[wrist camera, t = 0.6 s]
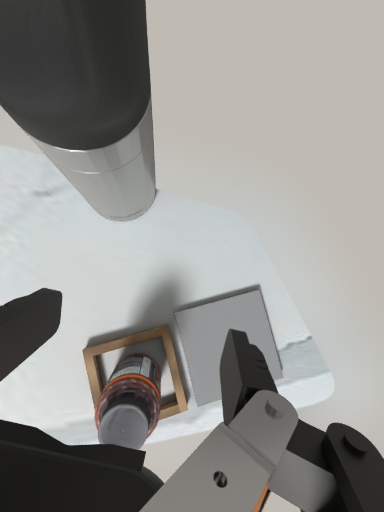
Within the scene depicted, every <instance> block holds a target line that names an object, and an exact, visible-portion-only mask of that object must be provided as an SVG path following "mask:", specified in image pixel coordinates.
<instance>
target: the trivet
mask: <svg viewBox="0 0 384 512" xmlns="http://www.w3.org/2000/svg"><path fill="white" fill-rule="evenodd" d="M175 316H176V321H177V325H178V329H179V333H180V337H181V341H182V345H183V349H184V353H185V358H186V362H187V366H188V370H189V374H190V378H191V382H192V386H193V390H194V395H195V399H196V403H197V406H198V407H200V406H203V405H205V404H208V403H211V402H214V401H217V400H220V399H222V395H221V383H220V371H219V369H220V360H221V356H222V352H223V348H224V345H225V341H226V337H227V333H228V331H229V329H235V330H240V331H244V332H246V334H247V337H248V340H249V343H250V344H253V345H256V346H257V347H258V348H259V349H260V350H261V352H262V353H263V355H264V357H265V360H266V363H267V365H268V368H269V370H270V373H271V375H272V378H273V380H274V381H275V380H278V379H281V378H284V377H283V373H282V370H281V366H280V362H279V359H278V355H277V352H276V348H275V344H274V341H273V337H272V333H271V330H270V326H269V322H268V319H267V315H266V311H265V308H264V304H263V300H262V297H261V293H260V290H254V291H250V292H247V293H243V294H240V295H236V296H232V297H229V298H225V299H221V300H218V301H214V302H211V303H207V304H203V305H200V306H196V307H192V308H189V309H185V310H182V311H178V312H175Z"/></svg>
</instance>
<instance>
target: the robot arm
mask: <svg viewBox="0 0 384 512" xmlns="http://www.w3.org/2000/svg"><path fill="white" fill-rule="evenodd" d="M0 105H1V106H2V107H3V109H4V110H5V111H6V112H7V113H8V114H9V115H10V116H11V117H12V119H13V120H14V121H15V122H16V123H17V124H18V125H19V126H20V127H21V128H22V129H23V131H24V132H25V133H26V134H27V135H28V136H29V137H30V138H31V139H32V141H33V142H34V143H35V144H36V145H37V146H38V147H39V148H40V149H41V150H42V151H43V153H44V154H45V155H46V156H47V157H48V158H49V159H50V160H51V161H52V163H53V164H54V165H55V166H56V167H57V168H58V169H59V170H60V172H61V173H62V174H63V175H64V176H65V177H66V178H67V179H68V180H69V182H70V183H71V184H72V185H73V186H74V187H75V188H76V189H77V190H78V192H79V193H80V194H81V195H82V196H83V197H84V198H85V200H86V201H87V202H88V203H89V204H90V205H91V206H92V207H93V208H94V210H95V211H97V212H98V213H99V214H100V215H102V216H104V217H105V218H107V219H111V220H114V221H129V220H133V219H136V218H138V217H139V216H141V215H143V214H144V213H145V212H146V211H147V210H148V209H149V208H150V206H151V205H152V203H153V200H154V198H155V192H156V188H155V161H154V141H153V121H152V106H151V105H152V104H151V84H150V69H149V55H148V39H147V24H146V3H145V0H0ZM61 306H62V293H61V292H60V291H57V290H52V289H47V288H42V289H40V290H38V291H36V292H34V293H32V294H30V295H28V296H24V297H20V298H16V299H14V300H12V301H10V302H8V303H6V304H4V306H3V305H2V306H0V381H2V380H3V379H4V378H5V377H6V376H7V375H8V374H10V373H11V372H12V371H13V370H14V369H15V368H16V367H18V366H19V365H20V364H21V363H22V362H23V361H25V360H26V359H27V358H28V357H29V356H30V355H31V354H33V353H34V352H35V351H36V350H37V349H38V348H39V347H41V346H42V345H43V344H44V343H45V342H46V341H47V340H49V339H50V338H51V337H52V336H53V335H54V334H55V333H56V331H57V329H58V327H59V324H60V318H61ZM219 371H220V383H221V395H222V406H223V418H224V422H221V423H220V424H219V425H218V426H217V427H216V428H215V429H214V430H213V431H212V432H211V433H210V435H209V436H208V437H207V438H206V439H205V440H204V441H203V442H202V443H201V444H200V445H199V447H198V448H197V449H196V450H195V451H194V452H193V453H192V454H191V455H190V456H189V457H188V459H187V460H186V461H185V462H184V463H183V464H182V465H181V466H180V467H179V468H178V470H177V471H176V472H175V473H174V474H173V475H172V476H171V477H170V478H169V479H168V480H167V482H166V483H163V481H162V480H161V479H160V478H159V477H158V476H157V475H156V474H154V473H153V472H152V471H151V470H149V469H147V468H146V467H144V466H143V464H144V459H145V454H146V451H141V450H136V449H132V448H127V447H123V446H118V445H114V444H93V445H73V446H71V445H65V444H63V443H62V442H60V441H58V440H57V439H55V438H53V437H51V436H50V435H48V434H46V433H45V432H43V431H41V430H40V429H38V428H36V427H32V426H27V425H23V424H18V423H14V422H9V421H5V420H0V512H262V511H263V509H264V506H265V504H266V502H267V500H268V498H269V496H270V493H271V491H272V492H274V493H275V494H277V495H279V496H280V497H282V498H284V499H285V500H287V501H289V502H290V503H292V504H294V505H295V506H297V507H299V508H300V510H301V512H384V459H383V457H382V456H381V454H380V453H379V451H378V450H377V449H376V447H375V446H374V445H373V444H372V443H371V442H370V441H369V440H368V439H367V438H366V437H365V436H364V435H362V434H361V433H360V432H358V431H357V430H355V429H353V428H351V427H350V426H347V425H345V424H342V423H332V424H330V425H329V426H328V428H327V430H326V432H324V431H322V430H319V429H317V428H315V427H313V426H311V425H309V424H307V423H305V422H303V421H301V420H300V419H298V414H297V412H296V410H295V408H294V407H293V405H292V404H291V403H290V402H289V401H288V400H287V399H286V398H284V397H283V396H281V395H280V394H279V393H278V391H277V388H276V386H275V383H274V380H273V378H272V375H271V373H270V370H269V368H268V365H267V363H266V360H265V357H264V355H263V353H262V352H261V350H260V349H259V348H258V347H257V346H256V345H253V344H250V343H249V340H248V337H247V334H246V332H244V331H240V330H235V329H229V331H228V333H227V337H226V341H225V345H224V348H223V352H222V356H221V360H220V369H219Z"/></svg>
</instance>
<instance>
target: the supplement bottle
mask: <svg viewBox="0 0 384 512" xmlns="http://www.w3.org/2000/svg"><path fill="white" fill-rule="evenodd" d="M160 383H161V380H160V372H159V369H158V366H157V364H156V363H155V362H154V361H153V360H152V359H151V358H150V357H148V356H146V355H143V354H134V355H130V356H128V357H126V358H124V359H123V360H121V361H120V363H119V364H118V365H117V366H116V368H115V369H114V371H113V373H112V375H111V377H110V378H109V380H108V382H107V384H106V386H105V388H104V390H103V391H102V393H101V395H100V397H99V399H98V402H97V405H96V409H95V424H96V427H97V430H98V438H99V442H100V444H114V445H118V446H123V447H127V448H132V449H136V450H139V449H140V448H141V447H142V445H143V444H144V442H145V440H146V439H147V438H148V437H149V436H150V435H151V433H152V432H153V431H154V429H155V428H156V426H157V423H158V420H159V417H160V409H161V394H160V393H161V392H160V389H161V387H160V386H161V385H160Z"/></svg>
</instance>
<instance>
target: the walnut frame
mask: <svg viewBox="0 0 384 512" xmlns="http://www.w3.org/2000/svg"><path fill="white" fill-rule="evenodd" d="M160 336H162V338H163V342H164V347H165V351H166V355H167V359H168V363H169V368H170V372H171V376H172V380H173V385H174V389H175V393H176V397H177V400H176V401H173V402H170V403H167V404H164V405H161V409H160V417H159V420H161V419H164V418H167V417H170V416H173V415H175V414H178V413H181V412H184V411H187V410H188V408H187V403H186V399H185V395H184V391H183V387H182V382H181V378H180V374H179V370H178V366H177V362H176V357H175V353H174V349H173V345H172V341H171V337H170V332H169V328H168V324H167V325H164V326H160V327H156V328H153V329H149V330H146V331H142V332H139V333H135V334H132V335H128V336H125V337H121V338H118V339H114V340H110V341H107V342H103V343H100V344H96V345H93V346H89V347H86V348H84V349H83V350H82V351H83V356H84V360H85V365H86V370H87V375H88V379H89V384H90V389H91V394H92V398H93V403H94V408H95V409H96V405H97V402H98V399H99V397H100V395H101V393H102V391H103V386H102V382H101V377H100V372H99V368H98V363H97V358H96V355H98V354H102V353H105V352H109V351H112V350H116V349H119V348H122V347H126V346H129V345H133V344H136V343H140V342H143V341H147V340H150V339H154V338H157V337H160Z"/></svg>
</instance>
